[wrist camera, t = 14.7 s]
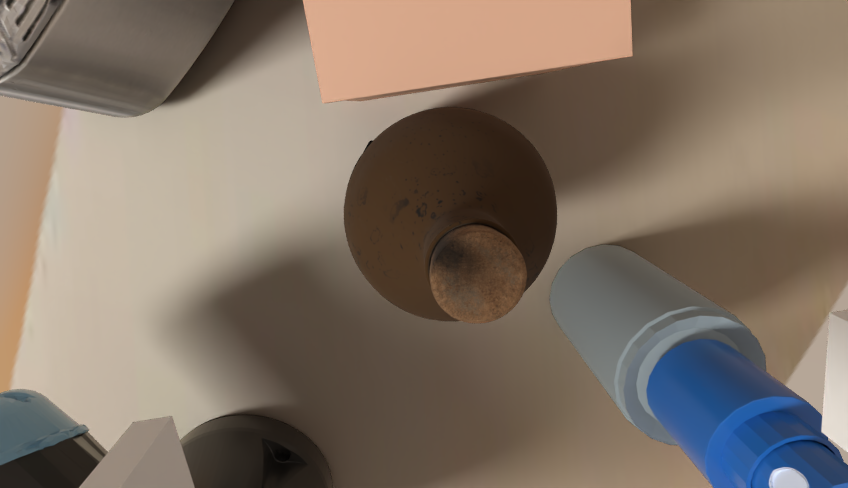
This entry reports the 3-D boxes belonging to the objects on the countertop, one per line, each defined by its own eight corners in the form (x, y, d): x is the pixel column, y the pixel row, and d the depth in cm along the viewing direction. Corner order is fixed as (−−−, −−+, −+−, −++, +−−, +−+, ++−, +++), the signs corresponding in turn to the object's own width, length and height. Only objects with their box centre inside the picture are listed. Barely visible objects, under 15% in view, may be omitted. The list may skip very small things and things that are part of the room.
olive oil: (500, 105, 40) (660, 110, 16) (495, 239, 42) (623, 419, 18) (361, 105, 39) (303, 109, 15) (365, 241, 42) (321, 427, 18)
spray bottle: (529, 311, 44) (686, 560, 20) (590, 224, 43) (843, 383, 18) (611, 359, 46) (847, 643, 22) (673, 277, 44) (1005, 487, 20)
